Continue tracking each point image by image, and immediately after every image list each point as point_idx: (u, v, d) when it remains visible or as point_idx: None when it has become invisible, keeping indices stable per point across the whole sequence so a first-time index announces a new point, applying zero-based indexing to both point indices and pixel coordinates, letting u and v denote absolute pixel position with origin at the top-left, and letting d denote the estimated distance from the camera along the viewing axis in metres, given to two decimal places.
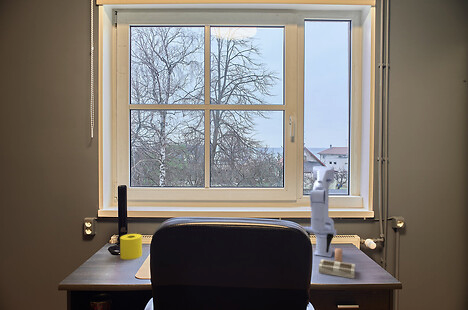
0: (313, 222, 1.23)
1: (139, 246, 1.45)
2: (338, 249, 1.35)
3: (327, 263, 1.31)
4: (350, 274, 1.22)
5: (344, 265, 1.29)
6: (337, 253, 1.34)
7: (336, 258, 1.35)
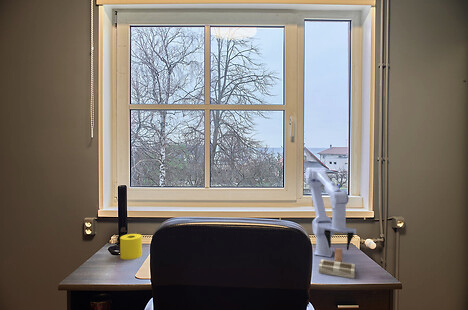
0: (334, 222, 1.34)
1: (139, 246, 1.45)
2: (338, 249, 1.35)
3: (327, 263, 1.31)
4: (350, 274, 1.22)
5: (344, 265, 1.29)
6: (337, 253, 1.34)
7: (336, 258, 1.35)
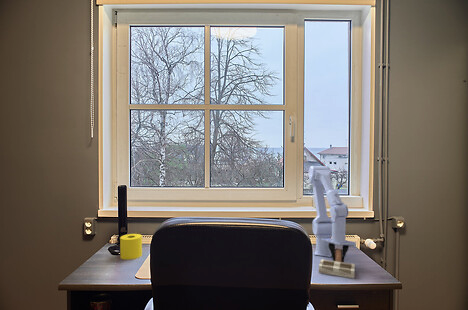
0: (334, 235, 1.34)
1: (139, 246, 1.45)
2: (338, 249, 1.35)
3: (327, 263, 1.31)
4: (350, 274, 1.22)
5: (344, 265, 1.29)
6: (337, 253, 1.34)
7: (336, 258, 1.35)
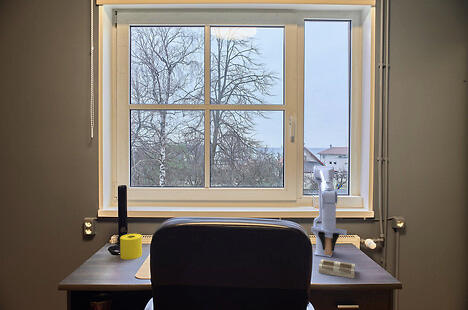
0: (324, 222, 1.27)
1: (139, 246, 1.45)
2: (328, 237, 1.29)
3: (327, 263, 1.31)
4: (350, 274, 1.22)
5: (344, 265, 1.29)
6: (327, 242, 1.28)
7: (326, 247, 1.28)
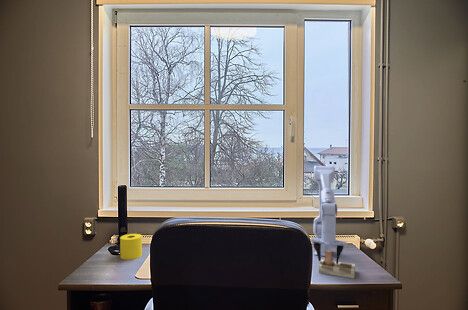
0: (324, 234, 1.27)
1: (139, 246, 1.45)
2: (328, 251, 1.29)
3: None
4: (350, 274, 1.22)
5: (344, 265, 1.29)
6: (327, 255, 1.28)
7: (326, 261, 1.28)
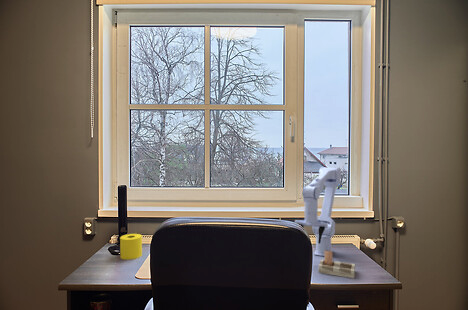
0: (306, 216, 1.35)
1: (139, 246, 1.45)
2: (328, 251, 1.29)
3: None
4: (350, 274, 1.22)
5: (344, 265, 1.29)
6: (327, 256, 1.28)
7: (326, 261, 1.28)
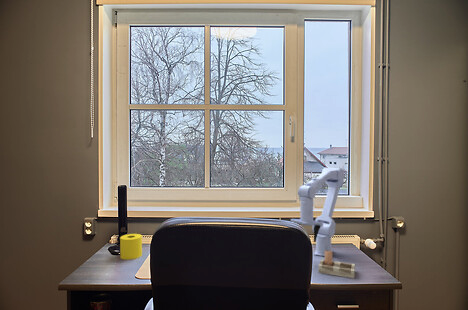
0: (302, 215, 1.37)
1: (139, 246, 1.45)
2: (328, 251, 1.29)
3: None
4: (350, 274, 1.22)
5: (344, 265, 1.29)
6: (327, 256, 1.28)
7: (326, 261, 1.28)
